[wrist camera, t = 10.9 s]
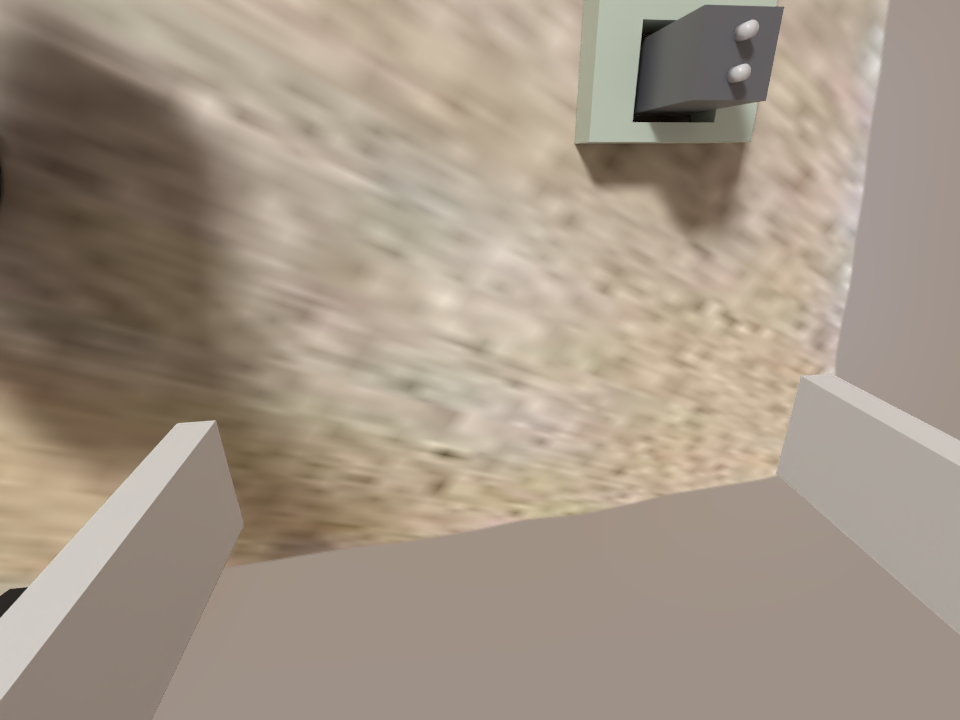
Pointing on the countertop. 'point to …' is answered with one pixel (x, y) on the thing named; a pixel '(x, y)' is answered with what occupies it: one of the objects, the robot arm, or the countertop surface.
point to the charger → (708, 60)
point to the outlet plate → (613, 77)
